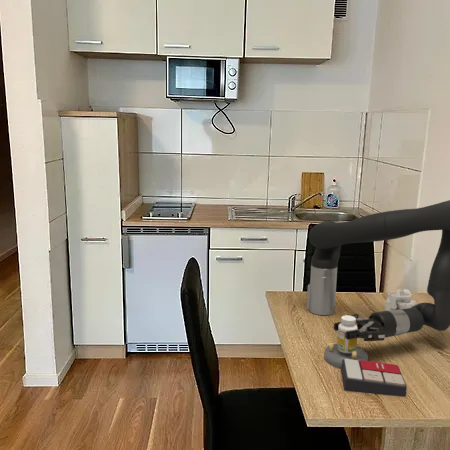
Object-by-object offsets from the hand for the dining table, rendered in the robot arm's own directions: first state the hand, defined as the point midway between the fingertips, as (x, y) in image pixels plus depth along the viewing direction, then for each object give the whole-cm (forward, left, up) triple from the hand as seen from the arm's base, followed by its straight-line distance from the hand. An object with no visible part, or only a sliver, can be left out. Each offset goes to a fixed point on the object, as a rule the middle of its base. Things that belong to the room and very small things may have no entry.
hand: (340, 331), depth 133 cm
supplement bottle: (+1, +2, -6) cm, 7 cm away
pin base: (+1, +2, -9) cm, 10 cm away
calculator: (+12, -4, -10) cm, 16 cm away
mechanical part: (0, +40, -9) cm, 41 cm away
